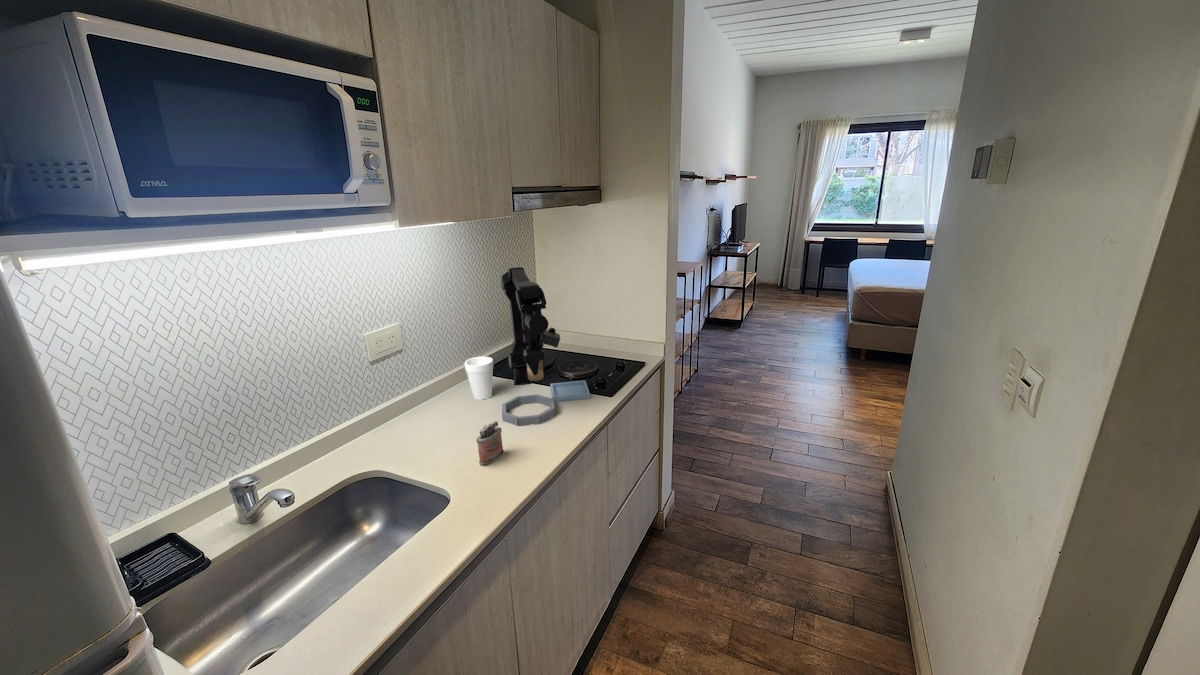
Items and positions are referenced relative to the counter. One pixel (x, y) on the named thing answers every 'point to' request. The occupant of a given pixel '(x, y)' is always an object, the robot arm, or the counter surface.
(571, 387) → the tray
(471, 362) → the foam cup
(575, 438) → the counter surface
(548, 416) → the holder ring
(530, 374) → the walnut cylinder
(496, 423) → the lighter
